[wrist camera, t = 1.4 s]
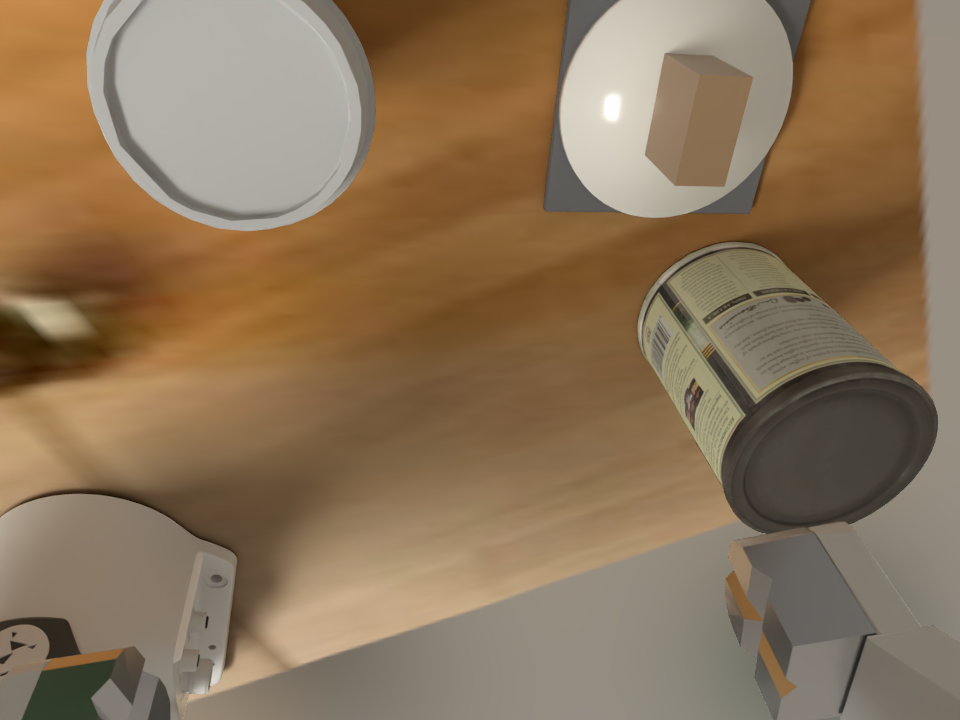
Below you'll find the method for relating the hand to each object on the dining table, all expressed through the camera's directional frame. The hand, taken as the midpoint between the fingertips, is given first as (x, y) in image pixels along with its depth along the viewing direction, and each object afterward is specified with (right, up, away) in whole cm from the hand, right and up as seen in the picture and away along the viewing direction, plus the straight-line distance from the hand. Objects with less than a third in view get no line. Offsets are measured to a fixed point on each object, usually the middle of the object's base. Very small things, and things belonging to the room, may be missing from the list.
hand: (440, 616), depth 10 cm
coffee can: (+15, +7, +36) cm, 40 cm away
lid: (+10, +17, +27) cm, 34 cm away
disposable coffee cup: (-9, +19, +24) cm, 32 cm away
